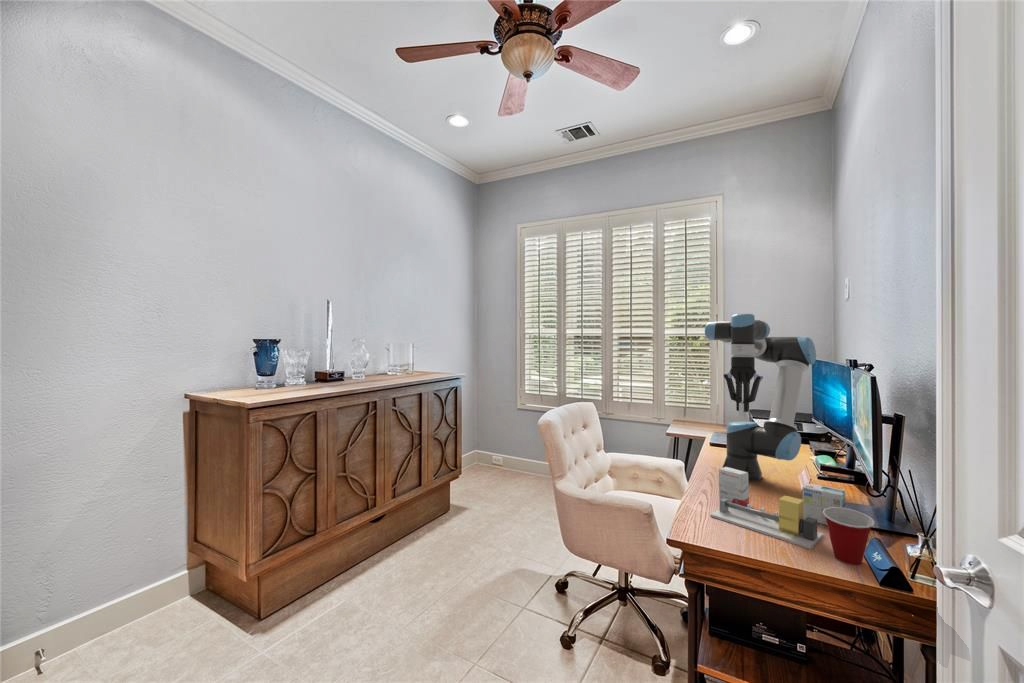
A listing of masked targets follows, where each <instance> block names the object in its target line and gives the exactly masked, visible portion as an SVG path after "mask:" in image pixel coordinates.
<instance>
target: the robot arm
mask: <svg viewBox="0 0 1024 683" xmlns="http://www.w3.org/2000/svg"><path fill="white" fill-rule="evenodd" d="M770 327H771V326H770V325H769V324H768V323H767V322H766V321H764V320H759V319H758V320H757V319H755V314H753V313H736V314H732V316H731V320H730V321H729V320H728V321H724V320H723V321H709V322H707V323H706V325H705V327H704V336H705V338H706V339H707V340H709V341H721V342H723V343H725V344H727V345H730V347H731V348H730V349H731V350H730V352H731V353H730V354H731V357H730V358H731V359H730V363H731V364H730V367H731V368H730V370H729V372H727V373H725V374H723V378H724V379H725V381H726V385H727V390H728V392H729V396H730V399H731V401H734V402H735V403H736V404H735V405H736V406H735V407H736V408H735V410H736V412H738V421H732V422H729V423H728V424H727V425H726V434H725V435H726V457H725V460H724V462H723V465H722V467H721V468H724V467H729V468H733V469H736V470H740V471H744V472H748V482H749V481H751V482H752V481H755V482H756V481H760V480H762V479H763V473H762V469H761V467H760V464H759V460H758V456H763V457H766V458H767V457H768V458H772V459H777V460H779V461H781V460H782V461H793V460H794V459H795V458H797V456H798V455H799V453H800V449H801V447H802V446H801V445H802V437H801V434H800V433H799V432H798V428H797V427H796V426H795V418H796V413H797V412H796V411H797V408H798V403H799V396H800V391H801V385H802V379H803V373H804V372H806V371H808V370H809V366H810V365H814V364H815V363H816V361H817V353H816V352H817V350H816V346H815V343H814V341H813V340H812V338H810V337H807V336H769V335H770V332H771V328H770ZM755 360H760V361H762V362H763V361H764V362H767V363H775V365H776V366H777V368H779V369H778V374H777V378H776V384H775V388H774V394H773V397H772V398H773V399H772V403H771V409H770V414H769V418H768V420H765V421H764V422H763V426H759V424H758V423H757V422H755V421H747V413H748V412H749V411H750V403H753V402H755V401H756V397H757V394H758V391H759V387H760V384H761V382H762V380H763V378H764V376H762V375H759V374H758V373H757V371H756V369H755V368H756V366H755V362H756V361H755ZM732 378H734V380H735V385H734V381H733V379H732ZM752 379H753V380H754V381H753V384H752V386H750V385H751V380H752ZM750 387H751V388H750ZM750 389H751V390H750Z"/></svg>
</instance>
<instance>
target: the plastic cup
mask: <svg viewBox="0 0 1024 683" xmlns="http://www.w3.org/2000/svg"><path fill="white" fill-rule="evenodd" d="M823 514H824V516H825V518H826V521H827V524H828V525H827V530H828V534H829V539H830V544H831V548H832V553H833V556H834V558H835V559H836V560H838V561H840V562H842V563H845V564H848V565H853V566H854V565H855V566H857V565H858V566H859V565H861V564H862V562H863V559H864V556H865V552H866V549H867V544H868V540H869V539H868V538H869V535H870V532H871V530H872V527H874V525H875V520H874V519H873V517H871V516H869V515H868V514H866V513H863V512H862V511H858V510H856V509H851V508H846V507H845V508H840V507H828V508H825V509H824V510H823Z"/></svg>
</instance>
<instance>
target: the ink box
mask: <svg viewBox="0 0 1024 683" xmlns="http://www.w3.org/2000/svg"><path fill="white" fill-rule="evenodd" d="M749 489H750V487H749V481H748V472H744V471H740V470H736V469H733V468H729V467H724V468H722V467H721V468H718V492H719V493H718V494H719V495H718V496H719V498H718V499H719V501H720V500H721V499H723V498H725V499H728V502H731V503H734V504H738V505H741V506H745V507H747V504H750V490H749Z"/></svg>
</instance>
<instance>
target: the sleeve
mask: <svg viewBox="0 0 1024 683" xmlns="http://www.w3.org/2000/svg"><path fill="white" fill-rule="evenodd" d="M778 516H779V530H782V531H786V532H789V533H792V534H795V535H799V534H801V533H800V532H799V522H800V520H801V519H804V500H803V499H801V498H796V497H792V496H788V495H783V496H781V497H780V498H779V499H778Z"/></svg>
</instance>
